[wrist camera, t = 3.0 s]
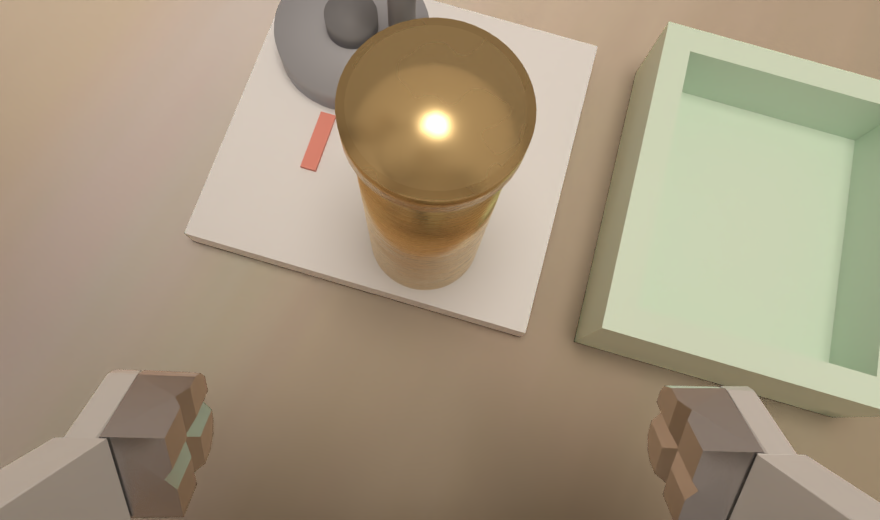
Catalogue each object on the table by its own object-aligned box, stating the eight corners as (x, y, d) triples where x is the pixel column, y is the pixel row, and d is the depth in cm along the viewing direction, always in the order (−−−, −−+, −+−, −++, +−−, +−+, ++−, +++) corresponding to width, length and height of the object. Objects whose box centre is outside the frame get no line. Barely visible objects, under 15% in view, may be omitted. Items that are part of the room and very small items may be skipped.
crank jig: (193, 240, 24) (103, 164, 17) (301, -22, 27) (263, -178, 20) (520, 336, 23) (568, 299, 16) (590, 59, 27) (655, -70, 20)
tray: (574, 341, 23) (601, 327, 20) (636, 72, 27) (668, 21, 23) (832, 417, 23) (904, 415, 20) (864, 136, 26) (931, 94, 23)
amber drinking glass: (349, 275, 23) (306, 166, 13) (386, 169, 24) (370, -5, 14) (465, 310, 23) (508, 225, 13) (496, 201, 24) (557, 47, 14)
